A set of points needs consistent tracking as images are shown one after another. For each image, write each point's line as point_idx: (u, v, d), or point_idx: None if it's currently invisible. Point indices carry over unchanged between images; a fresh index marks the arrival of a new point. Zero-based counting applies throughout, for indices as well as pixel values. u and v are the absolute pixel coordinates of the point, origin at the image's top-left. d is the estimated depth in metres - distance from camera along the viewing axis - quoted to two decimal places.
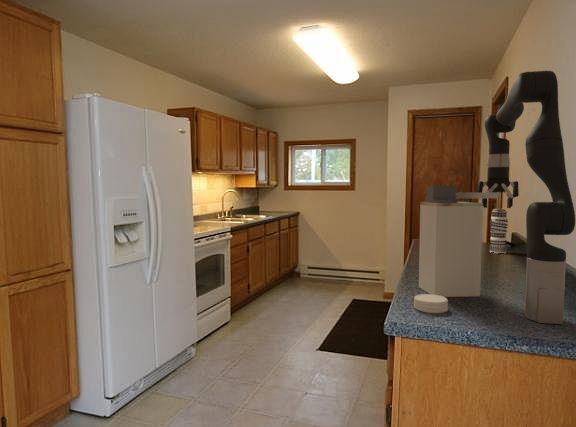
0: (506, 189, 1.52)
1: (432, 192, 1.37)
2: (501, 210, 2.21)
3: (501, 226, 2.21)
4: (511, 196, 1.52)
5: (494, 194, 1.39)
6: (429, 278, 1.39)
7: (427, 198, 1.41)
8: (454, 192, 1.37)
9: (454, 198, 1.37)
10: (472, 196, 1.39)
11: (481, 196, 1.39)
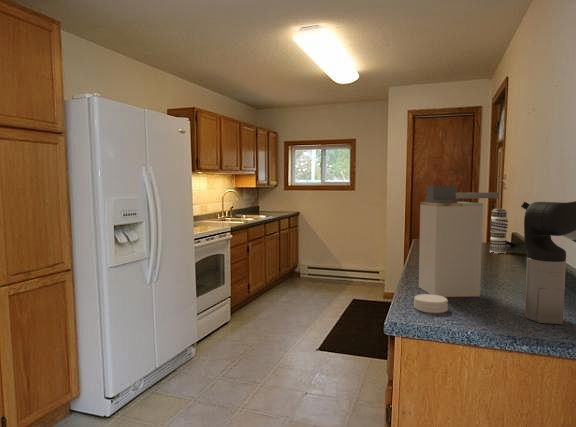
0: None
1: (432, 192, 1.37)
2: (501, 210, 2.21)
3: (501, 226, 2.21)
4: None
5: (494, 194, 1.39)
6: (429, 278, 1.39)
7: (427, 198, 1.41)
8: (454, 192, 1.37)
9: (454, 198, 1.37)
10: (472, 196, 1.39)
11: (481, 196, 1.39)
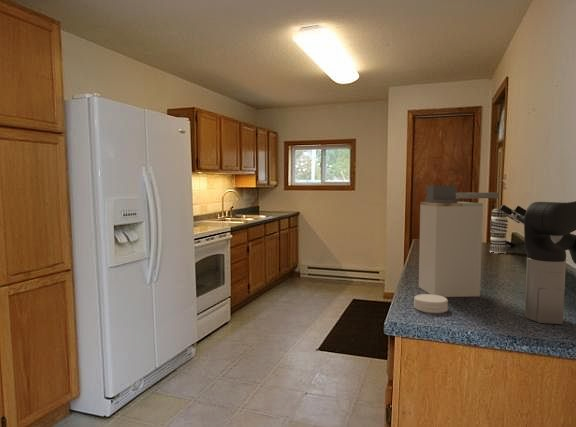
0: None
1: (432, 192, 1.37)
2: None
3: (501, 226, 2.21)
4: None
5: (494, 194, 1.39)
6: (429, 278, 1.39)
7: (427, 198, 1.41)
8: (454, 192, 1.37)
9: (454, 198, 1.37)
10: (472, 196, 1.39)
11: (481, 196, 1.39)
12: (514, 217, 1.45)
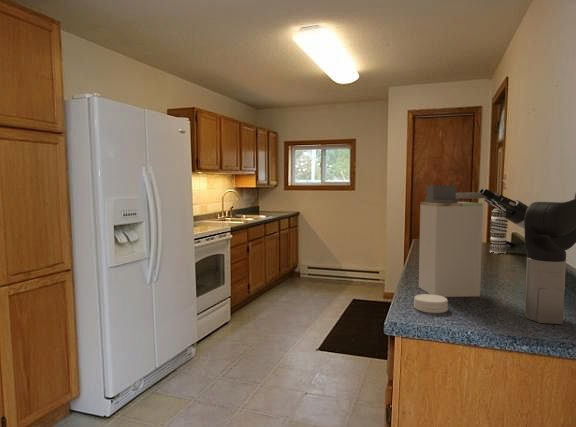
0: None
1: (432, 192, 1.37)
2: None
3: (501, 226, 2.20)
4: None
5: None
6: (429, 278, 1.39)
7: (427, 198, 1.41)
8: (454, 192, 1.37)
9: (454, 198, 1.37)
10: (472, 196, 1.39)
11: (481, 196, 1.39)
12: (493, 202, 1.42)
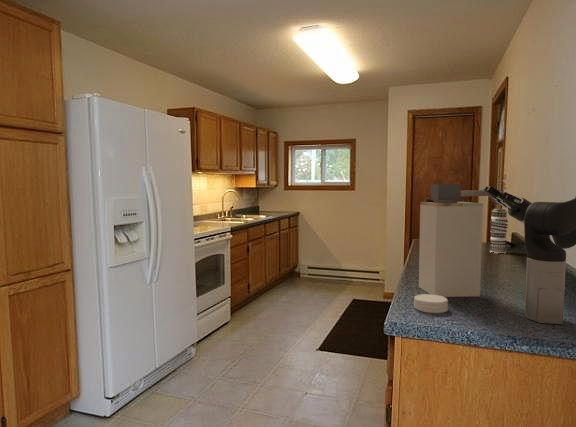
0: (509, 195, 1.39)
1: (437, 190, 1.37)
2: (501, 210, 2.21)
3: (501, 226, 2.21)
4: None
5: (499, 191, 1.40)
6: (429, 278, 1.39)
7: (432, 196, 1.41)
8: (459, 190, 1.37)
9: (459, 196, 1.37)
10: (477, 194, 1.39)
11: (486, 194, 1.39)
12: (497, 200, 1.42)
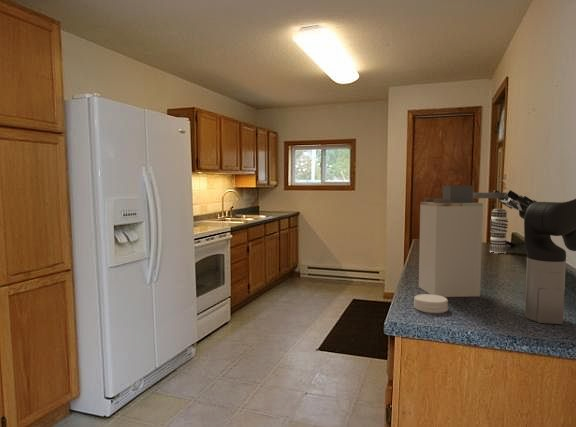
0: None
1: (449, 192, 1.37)
2: (501, 210, 2.21)
3: (501, 226, 2.20)
4: None
5: None
6: (429, 278, 1.39)
7: (444, 198, 1.41)
8: (471, 192, 1.37)
9: (471, 198, 1.37)
10: (489, 196, 1.39)
11: (498, 196, 1.40)
12: (506, 202, 1.44)
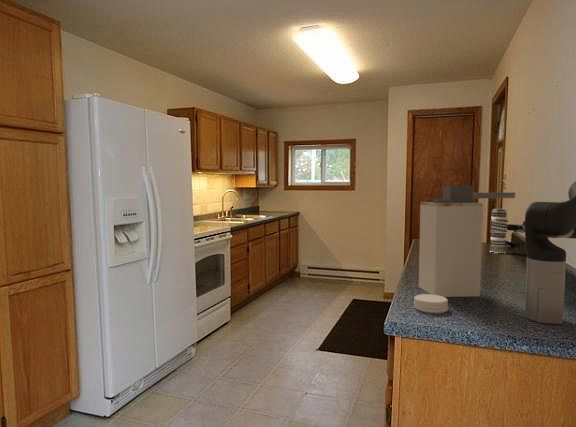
0: None
1: (449, 192, 1.37)
2: (501, 210, 2.21)
3: (501, 226, 2.21)
4: None
5: (511, 194, 1.40)
6: (429, 278, 1.39)
7: (444, 198, 1.41)
8: (471, 192, 1.37)
9: (471, 198, 1.37)
10: (489, 196, 1.39)
11: (498, 196, 1.40)
12: (523, 230, 1.47)
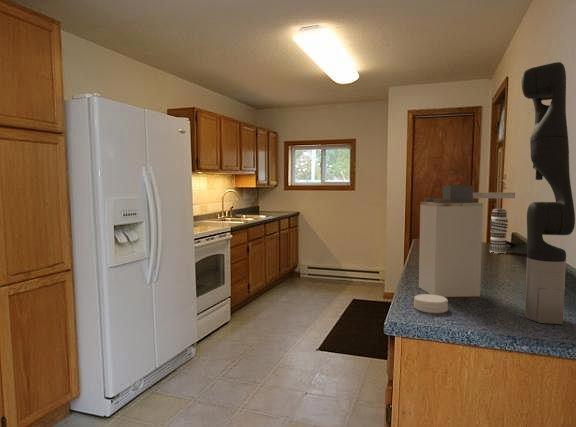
0: None
1: (449, 192, 1.37)
2: (501, 210, 2.21)
3: (501, 226, 2.20)
4: None
5: (511, 194, 1.40)
6: (429, 278, 1.39)
7: (444, 198, 1.41)
8: (471, 192, 1.37)
9: (471, 198, 1.37)
10: (489, 196, 1.39)
11: (498, 196, 1.40)
12: None
